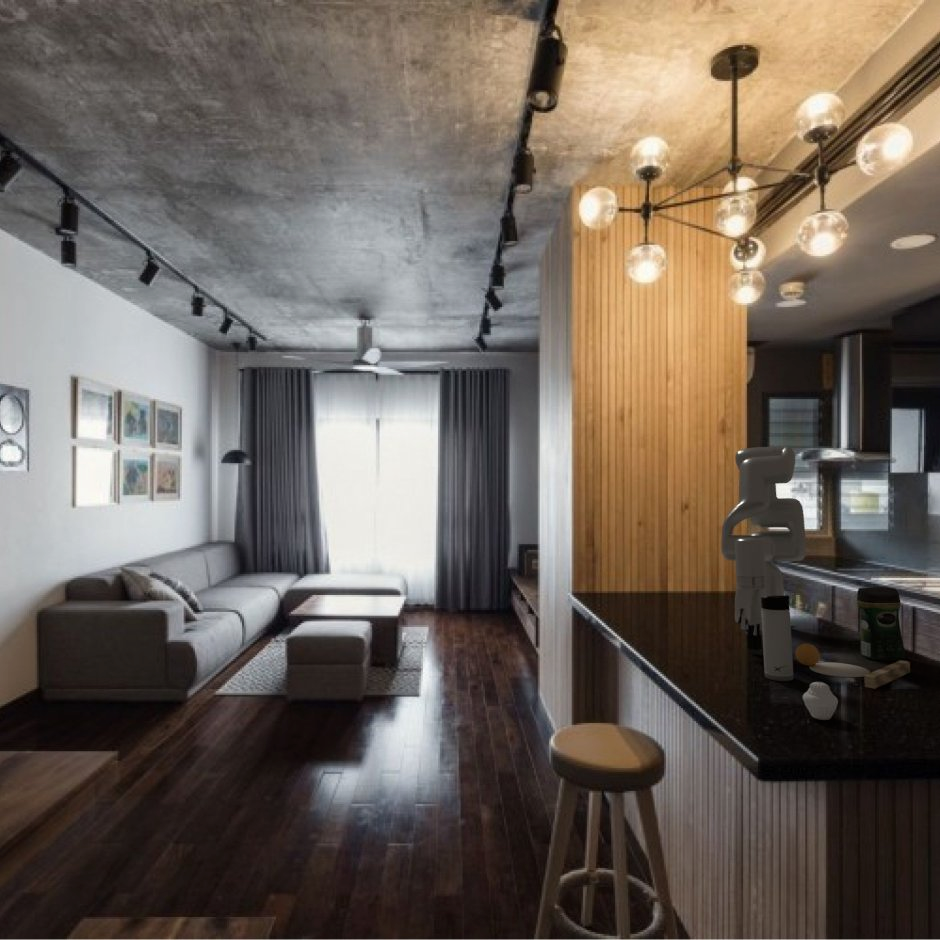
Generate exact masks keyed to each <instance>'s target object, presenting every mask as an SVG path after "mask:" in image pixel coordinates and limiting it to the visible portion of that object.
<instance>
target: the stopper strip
mask: <svg viewBox="0 0 940 940" xmlns="http://www.w3.org/2000/svg"><path fill="white" fill-rule="evenodd" d="M910 673H911V662H910V661H907V660H897V661H896V662H892V663H891V664H888V665H887V666H884V667H881V668H879V669H876V670H874V671H872V672H870V673H869V674H867V675H865V676H863V677H864V687H865V688H868V689H869V688H870V689H877V688H879V687H882V686H883V685H886V684H888V683H890V682H892V681H894V680H897V679H899V678H901V677H903V676H905V675H907V674H910Z"/></svg>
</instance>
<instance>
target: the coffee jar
mask: <svg viewBox="0 0 940 940" xmlns="http://www.w3.org/2000/svg"><path fill="white" fill-rule="evenodd" d="M898 591H899V590H898V589H896V588H892V587H888V586H885V587H884V586H872V587H859V588H858V590H857V596H856V597H857V598H856V601H857V605H858V608H859V610H860V620H861V621H860V622H861V624H860V625H861V627H860V629H861V630H860V654H861V656H862V657H864V658H865V659H870V660H873V661H874V660H875V661H900V660H901V661H903V659H905V657H906V654H905V653H906V652H905V646H904V641H903V637H902V631H901V625H900V617H899V616H900V615H899V613H900V608H901V605H902V603H901V599H900V594H899V592H898Z"/></svg>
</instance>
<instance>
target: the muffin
mask: <svg viewBox="0 0 940 940" xmlns="http://www.w3.org/2000/svg"><path fill="white" fill-rule="evenodd" d="M802 701H803V702H804V705H805V707H806V709H807V710H808V711H809V713H810V716H811V717H812V718H814V719H815V720H820V721H821V720H822V721H826V720H827V721H828V720H831V718H832V716H833V715H834V713H835V711H836V710H837V707H838V703H839V699H838V698H837V697H836V696H835V695H834V694H833V692H832V691H831V689H830V686H829V685H828V684H826V683H824V682H822V681H815V682H814V681H813V682H812V683H810V684H809V688H808V689H807V691H805V692H804V693H803V695H802Z"/></svg>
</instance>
